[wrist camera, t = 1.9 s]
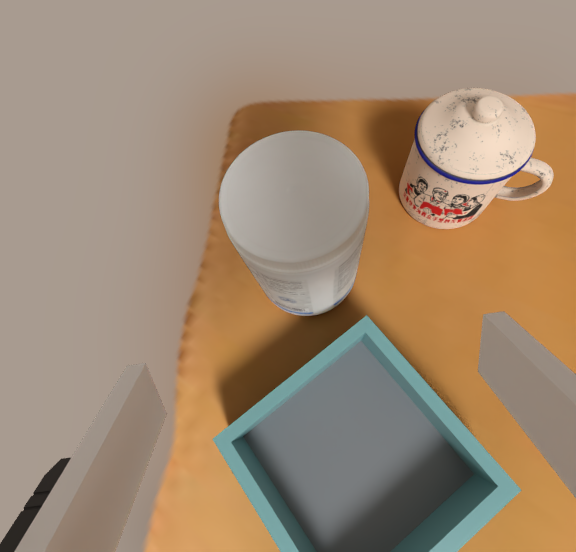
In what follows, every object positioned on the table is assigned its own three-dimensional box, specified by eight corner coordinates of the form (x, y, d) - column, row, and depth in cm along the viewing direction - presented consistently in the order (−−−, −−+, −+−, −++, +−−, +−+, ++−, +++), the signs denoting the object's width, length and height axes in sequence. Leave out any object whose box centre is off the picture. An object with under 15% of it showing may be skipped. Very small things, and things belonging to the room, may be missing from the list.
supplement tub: (328, 214, 37) (330, 103, 23) (373, 292, 33) (406, 217, 20) (244, 253, 36) (194, 163, 22) (282, 335, 33) (250, 290, 19)
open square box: (488, 474, 27) (521, 490, 23) (341, 610, 26) (345, 658, 21) (360, 327, 32) (366, 315, 28) (230, 432, 31) (212, 438, 26)
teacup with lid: (383, 215, 36) (408, 136, 25) (411, 147, 38) (445, 46, 27) (505, 255, 33) (593, 185, 22) (527, 179, 36) (616, 81, 25)
